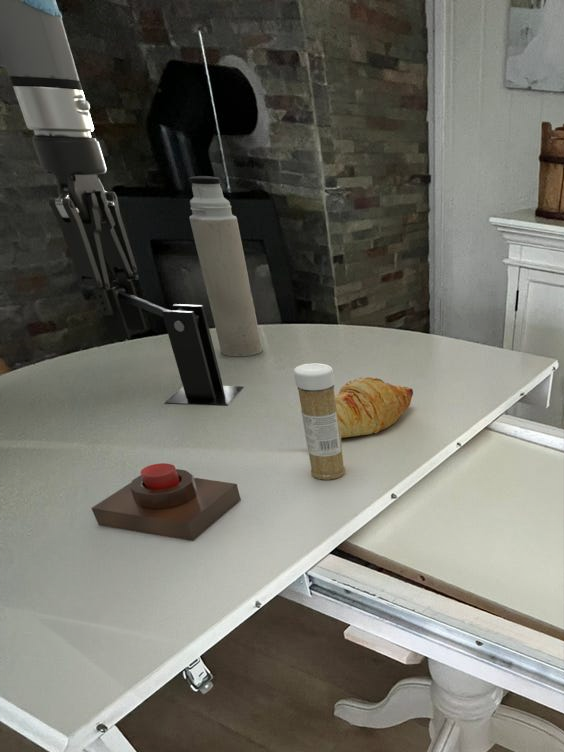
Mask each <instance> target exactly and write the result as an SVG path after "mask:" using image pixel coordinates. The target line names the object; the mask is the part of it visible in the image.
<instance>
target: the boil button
mask: <svg viewBox="0 0 564 752" xmlns="http://www.w3.org/2000/svg"><path fill="white" fill-rule="evenodd" d="M176 469H177V468H176V466H175V465H174V464H172V463H166V462H164V463H163V462H162V463H153V464H150V465H147V466H144V467H143V468H142V469H141V470H140V475H142V478H143V481H144V484H145V486H146V488H147V489H152V490H157V489H167V488H170V487H173V486H175V485H177V484H178V483H180V480H179V477H178V474H177V471H176Z"/></svg>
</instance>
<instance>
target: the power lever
mask: <svg viewBox="0 0 564 752" xmlns="http://www.w3.org/2000/svg"><path fill="white" fill-rule="evenodd" d="M112 288H113V289H115V291H116V294H117V297H118V299H119V300H122V301H124V302H127V303H129V304H132V305H134V306H137V307H139V308H141V310H144V311H147V312H149V313H151V314H154V315H156V316H159V317H162V318H163V315H162V311H164V310H169V309H168V308H165V307H163V306H161V305H158V304H155V303H153V302H151V301H149V300H145V299H143V298H140V297H138V296H137V297H136V296H133V295H131V294H128V289H127V288H126V286H124V285H118V286H116V287H114V286H113V287H112ZM176 311H186V310H184V309H181V308H179V309H178V310H176ZM195 318H196V321H197V325H198V323H199V315H196V314H195Z"/></svg>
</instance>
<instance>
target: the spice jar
mask: <svg viewBox="0 0 564 752" xmlns="http://www.w3.org/2000/svg"><path fill="white" fill-rule="evenodd" d="M293 376H294V383H295V386H296V388H297V391H298V397H299V402H300V403H299V404H300V409H301V417H302V424H303V428H304V436H305V442H306V448H307V453H308V456H309V463H310V469H311V470H310V473H311V475H312V476H313V478H315V479H319V480H325V481H327V480H328V481H331V480H336V479H338V478H340V477H342V476H343V475H344V474H345V473H346V466H345V465H344V457H343V456H344V455H343V449H342V448H343V445H342V444H343V443H342V438H341V435H340V427H339V424H338V416H337V409H336V402H335V390H334V389H335V376H334V371H333V368H332V367H331V366H330V365H328V364H324V363H304V364H301V365H297V366H296V367H295V368H294V369H293Z"/></svg>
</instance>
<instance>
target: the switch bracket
mask: <svg viewBox="0 0 564 752" xmlns="http://www.w3.org/2000/svg"><path fill="white" fill-rule="evenodd" d="M179 308H181V309H184V310H186V311H176V310H178V309H179ZM172 309H173V310H171V309H168V310H164V311H162V315H163V317H162V319H163V322H164V325H165V329H166V332H167V335H168V339H169V343H170V345H171V350H172V353H173V356H174V359H175V363H176V366H177V370H178V373H179V374H178V375H179V377H180V381H181V384H182V387H180V388H179V390H177V391H176V392H175V393H174V394H172V395H171V396H170V398H168V399H167V400H166V401H165V402H163V404H164V405H187V406H188V405H191V406H224V407H228V406H229V405H230V404H231V403H232V402H233V401H234V400H235V399H236V397H237V396H238V395H239V394H240V393H241V392H242V391H243V390H244V389H245V386H237V385H235V386H234V385H223V380H222V376H221V373H220V368H219V364H218V360H217V356H216V351H215V347H214V343H213V339H212V334H211V331H210V327H209V323H208V319H207V315H206V310H205V307H204V305H203V304H183V303H182V304H181V303H179V304H177V303H174V304H173V305H172ZM195 314H196V315H199V323H198V325H197V321H196V318H195Z"/></svg>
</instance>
